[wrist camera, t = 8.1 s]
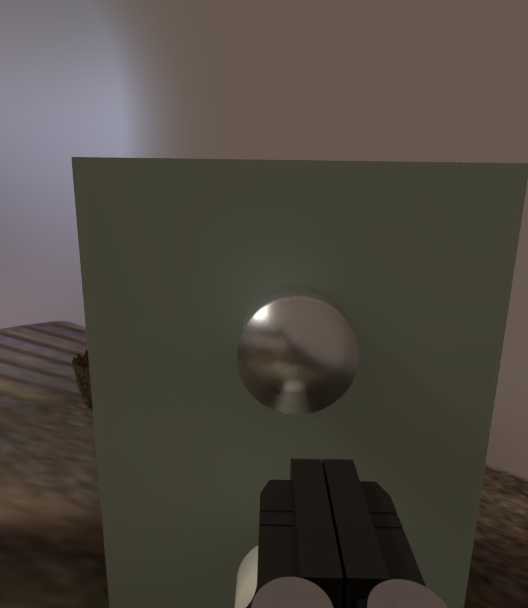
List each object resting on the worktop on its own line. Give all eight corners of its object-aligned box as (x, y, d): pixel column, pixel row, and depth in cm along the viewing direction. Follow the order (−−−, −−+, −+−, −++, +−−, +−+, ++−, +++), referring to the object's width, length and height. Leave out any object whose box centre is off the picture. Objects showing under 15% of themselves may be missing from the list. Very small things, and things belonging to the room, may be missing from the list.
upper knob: (354, 415, 19) (362, 300, 18) (236, 413, 19) (236, 298, 18) (332, 357, 26) (337, 270, 25) (245, 355, 26) (246, 269, 25)
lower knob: (351, 692, 19) (359, 594, 18) (231, 689, 19) (231, 591, 18) (330, 560, 26) (335, 482, 24) (242, 557, 26) (242, 480, 24)
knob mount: (455, 665, 26) (529, 163, 20) (113, 656, 27) (71, 157, 20) (413, 557, 34) (456, 171, 27) (148, 551, 34) (127, 166, 28)
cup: (150, 404, 58) (147, 345, 56) (133, 434, 51) (129, 367, 49) (92, 403, 58) (87, 344, 56) (67, 433, 51) (60, 366, 49)
